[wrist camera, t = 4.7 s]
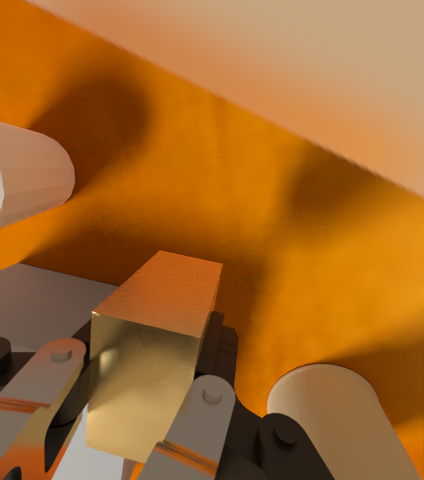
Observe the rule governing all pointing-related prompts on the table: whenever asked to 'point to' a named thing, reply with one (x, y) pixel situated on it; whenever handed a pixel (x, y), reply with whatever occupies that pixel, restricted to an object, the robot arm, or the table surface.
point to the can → (343, 422)
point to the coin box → (52, 328)
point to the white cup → (31, 174)
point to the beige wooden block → (147, 352)
